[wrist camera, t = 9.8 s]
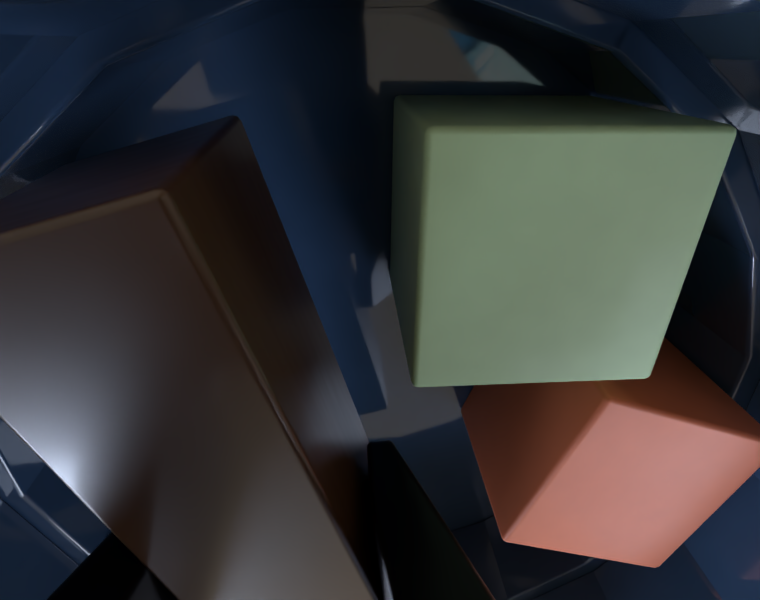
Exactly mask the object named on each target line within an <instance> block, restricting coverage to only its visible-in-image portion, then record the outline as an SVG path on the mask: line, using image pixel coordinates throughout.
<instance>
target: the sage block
mask: <svg viewBox="0 0 760 600" xmlns="http://www.w3.org/2000/svg"><path fill="white" fill-rule="evenodd" d="M735 137H736V128H735V127H733V126H732V125H730V124H726V123H721V122H716V121H711V120H706V119H701V118H696V117H692V116H687V115H682V114H677V113H672V112H667V111H663V110H658V109H653V108H648V107H643V106H638V105H633V104H629V103H624V102H619V101H614V100H609V99H604V98H600V97H595V96H546V95H399V96H396V97H395V100H394V117H393V164H392V210H391V257H390V280H391V285H392V290H393V295H394V300H395V305H396V310H397V315H398V320H399V324H400V329H401V334H402V339H403V344H404V349H405V354H406V359H407V364H408V369H409V374H410V379H411V382H412V384H413V385H414V386H415V387H438V386H465V385H491V384H517V383H544V382H570V381H596V380H622V379H645V378H648V377H649V376H650V375H651V372H652V370H653V367H654V364H655V361H656V358H657V356H658V353H659V350H660V347H661V344H662V342H663V339H664V336H665V333H666V330H667V328H668V325H669V322H670V319H671V316H672V314H673V311H674V308H675V305H676V302H677V300H678V297H679V294H680V291H681V288H682V286H683V283H684V280H685V277H686V274H687V272H688V269H689V266H690V263H691V260H692V258H693V255H694V252H695V249H696V246H697V243H698V241H699V238H700V235H701V232H702V229H703V227H704V224H705V221H706V218H707V215H708V213H709V210H710V207H711V204H712V201H713V199H714V196H715V193H716V190H717V187H718V185H719V182H720V179H721V176H722V173H723V171H724V168H725V165H726V162H727V159H728V157H729V154H730V151H731V148H732V145H733V143H734V140H735Z"/></svg>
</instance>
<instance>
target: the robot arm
mask: <svg viewBox="0 0 760 600" xmlns="http://www.w3.org/2000/svg"><path fill="white" fill-rule="evenodd" d="M367 460H368V481H369V499H370V509H371V518H372V527H373V535H374V544H375V552H376V561H377V568H378V574H379V581H380V587H381V592H382V598H383V600H495V598H494V597H493V595H492V594H491V592H490V591H489V589H488V587H487V586H486V584H485V583H484V581H483V580H482V578H481V577H480V575H479V574H478V572H477V571H476V569H475V568H474V566H473V564H472V563H471V561H470V560H469V558H468V557H467V555H466V554H465V552H464V551H463V549H462V548H461V546H460V545H459V543H458V541H457V540H456V538H455V537H454V535H453V534H452V532H451V531H450V529H449V528H448V526H447V525H446V523H445V522H444V520H443V518H442V517H441V515H440V514H439V512H438V511H437V509H436V508H435V506H434V505H433V503H432V502H431V500H430V499H429V497H428V495H427V494H426V492H425V491H424V489H423V488H422V486H421V485H420V483H419V482H418V480H417V479H416V477H415V476H414V474H413V473H412V471H411V469H410V468H409V466H408V465H407V463H406V462H405V460H404V459H403V457H402V456H401V454H400V453H399V451H398V450H397V448H396V446H395V445H394V444H393V442H392V441H390V440H385V441H375V442H369V443H368V445H367ZM46 600H178V599H177V598H176V597H175V596H174V595H173V594H172V593H171V592H170V591H169V590H168V589H167V588H166V587H165V586H164V585H163V584H162V583H161V582H160V581H159V580H158V579H157V578H156V577H155V576H154V575H153V574H152V573H151V572H150V571H149V569H148V568H147V567H145V566H144V565H143V564H142V563H141V561H140V560H139V559H138V558H137V557H136V556H135V555H134V554H133V553H132V552H131V551H130V550H129V549H128V548H127V547H126V546H125V545H124V544H123V543H122V542H121V541H120V540H119V539H118V538H117V537H116V536H115V535H114V534H113V533H112V532H111V533H110V534H109V535H108V536H107V537H106V538H105V539H104V540H103V541H102V542H101V543H100V544H99V545H98V546H97V547H96V548H95V549H94V550H93V552H92V553H91V554H90V555H89V556H88V557H87V558H86V559H85V560H84V561H83V562H82V563H81V564H80V565H79V566H78V567H77V568H76V569H75V570H74V571H73V572H72V573H71V574H70V575H69V576H68V577H67V579H66V580H65V581H64V582H63V583H62V584H61V585H60V586H59V587H58V588H57V589H56V590H55V591H54V592H53V593H52V594H51V595H50V596H49V597H48V598H47V599H46Z"/></svg>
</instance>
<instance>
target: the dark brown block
mask: <svg viewBox="0 0 760 600" xmlns="http://www.w3.org/2000/svg"><path fill="white" fill-rule="evenodd" d="M0 418H1V419H2V420H3V421H4V422H5V423H6V424H7V425H8V426H9V427H10V428H11V429H12V430H13V431H14V432H15V433H16V434H17V435H18V436H19V437H20V438H21V440H22V441H23V442H24V443H25V444H26V445H27V446H28V447H29V448H30V449H31V450H32V451H33V452H34V453H35V454H36V455H37V456H38V457H39V458H40V459H41V460H42V461H43V462H44V463H45V464H46V465H47V466H48V467H49V468H50V469H51V470H52V471H53V472H54V473H55V474H56V475H57V476H58V477H59V478H60V479H61V481H62V482H63V483H64V484H65V485H66V486H67V487H68V488H69V489H70V490H71V491H72V492H73V493H74V494H75V495H76V496H77V497H78V498H79V499H80V500H81V501H82V502H83V503H84V504H85V505H86V506H87V507H88V508H89V509H90V510H91V511H92V512H93V513H94V514H95V515H96V516H97V517H98V518H99V519H100V520H101V522H102V523H103V524H104V525H105V526H106V527H107V528H108V529H109V530H110V531H111V532H112V533H113V534H114V535H115V536H116V537H117V538H118V539H119V540H120V541H121V542H122V543H123V544H124V545H125V546H126V547H127V548H128V549H129V550H130V551H131V552H132V553H133V554H134V555H135V556H136V557H137V558H138V559H139V560H140V561H141V563H142V564H143V565H144V566H145V567H147V568H148V569H149V571H150V572H151V573H152V574H153V575H154V576H155V577H156V578H157V579H158V580H159V581H160V582H161V583H162V584H163V585H164V586H165V587H166V588H167V589H168V590H169V591H170V592H171V593H172V594H173V595H174V596H175V597H176V598H177V599H178V600H383V598H382V592H381V587H380V581H379V574H378V568H377V561H376V552H375V544H374V535H373V527H372V518H371V509H370V499H369V481H368V460H367V445H368V443H369V441H368V438H367V436H366V433H365V431H364V428H363V426H362V423H361V421H360V418H359V416H358V413H357V410H356V408H355V405H354V403H353V400H352V398H351V395H350V393H349V390H348V388H347V385H346V383H345V380H344V378H343V375H342V373H341V370H340V368H339V365H338V363H337V360H336V358H335V355H334V353H333V350H332V348H331V345H330V343H329V340H328V338H327V335H326V333H325V330H324V328H323V325H322V323H321V320H320V317H319V315H318V312H317V310H316V307H315V305H314V302H313V300H312V297H311V295H310V292H309V290H308V287H307V285H306V282H305V280H304V277H303V275H302V272H301V270H300V267H299V265H298V262H297V260H296V257H295V255H294V252H293V250H292V247H291V245H290V242H289V240H288V237H287V235H286V232H285V230H284V227H283V224H282V222H281V219H280V217H279V214H278V212H277V209H276V207H275V204H274V202H273V199H272V197H271V194H270V192H269V189H268V187H267V184H266V182H265V179H264V177H263V174H262V172H261V169H260V167H259V164H258V162H257V159H256V157H255V154H254V152H253V149H252V147H251V144H250V142H249V139H248V136H247V134H246V131H245V129H244V126H243V124H242V121H241V120H240V119H239V118H238V116H233V115H231V116H227V117H224V118H221V119H217V120H214V121H211V122H207V123H204V124H201V125H197V126H194V127H190V128H187V129H184V130H180V131H177V132H174V133H170V134H167V135H163V136H160V137H157V138H153V139H150V140H147V141H143V142H140V143H137V144H133V145H130V146H126V147H123V148H120V149H116V150H113V151H110V152H106V153H103V154H100V155H96V156H93V157H89V158H86V159H83V160H79V161H76V162H73V163H69V164H66V165H63V166H61V167H60V168H58V169H56V170H54V171H52V172H50V173H48V174H47V175H45V176H43V177H41V178H39V179H37V180H36V181H34V182H32V183H30V184H28V185H26V186H24V187H23V188H21V189H19V190H17V191H15V192H13V193H12V194H10V195H8V196H6V197H4V198H2V199H1V200H0Z"/></svg>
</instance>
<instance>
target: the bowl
mask: <svg viewBox="0 0 760 600" xmlns="http://www.w3.org/2000/svg"><path fill="white" fill-rule="evenodd" d="M399 95H546V96H595V97H600V98H604V99H609V100H614V101H619V102H624V103H629V104H633V105H638V106H643V107H648V108H653V109H658V110H663V111H667V112H672V113H677V114H682V115H687V116H692V117H696V118H701V119H706V120H711V121H716V122H721V123H726V124H730V125H732V126H733V127H735V128H736V137H735V140H734V143H733V145H732V148H731V151H730V154H729V157H728V159H727V162H726V165H725V168H724V171H723V173H722V176H721V179H720V182H719V185H718V187H717V190H716V193H715V196H714V199H713V201H712V204H711V207H710V210H709V213H708V215H707V218H706V221H705V224H704V227H703V229H702V232H701V235H700V238H699V241H698V243H697V246H696V249H695V252H694V255H693V258H692V260H691V263H690V266H689V269H688V272H687V274H686V277H685V280H684V283H683V286H682V288H681V291H680V294H679V297H678V300H677V302H676V305H675V308H674V311H673V314H672V316H671V319H670V322H669V325H668V328H667V330H666V333H665V336H664V337H665V338H666V339H667V340H668V341H669V342H670V343H672V344H673V345H674V346H675V347H676V348H677V349H678V350H679V351H680V352H681V353H683V354H684V355H685V356H686V357H687V358H688V359H689V360H690V361H691V362H692V363H694V364H695V365H696V366H697V367H698V368H699V369H700V370H701V371H702V372H703V373H705V374H706V375H707V376H708V377H709V378H710V379H711V380H712V381H713V382H714V383H715V384H717V385H718V386H719V387H720V388H721V389H722V390H723V391H724V392H725V393H726V394H728V395H729V396H730V397H731V398H732V399H733V400H734V401H735V402H736V403H737V404H739V405H740V406H741V407H742V408H743V409H744V410H745V411H746V412H747V413H748V414H750V415H751V416H752V417H753V418H754V419H755V420H756V421H757V422H758V423H759V424H760V0H0V200H1V199H2V198H4V197H6V196H8V195H10V194H12V193H13V192H15V191H17V190H19V189H21V188H23V187H24V186H26V185H28V184H30V183H32V182H34V181H36V180H37V179H39V178H41V177H43V176H45V175H47V174H48V173H50V172H52V171H54V170H56V169H58V168H60V167H61V166H63V165H66V164H69V163H73V162H76V161H79V160H83V159H86V158H89V157H93V156H96V155H100V154H103V153H106V152H110V151H113V150H116V149H120V148H123V147H126V146H130V145H133V144H137V143H140V142H143V141H147V140H150V139H153V138H157V137H160V136H163V135H167V134H170V133H174V132H177V131H180V130H184V129H187V128H190V127H194V126H197V125H201V124H204V123H207V122H211V121H214V120H217V119H221V118H224V117H227V116H231V115H233V116H238V118H239V119H240V120H241V121H242V124H243V126H244V129H245V131H246V134H247V136H248V139H249V142H250V144H251V147H252V149H253V152H254V154H255V157H256V159H257V162H258V164H259V167H260V169H261V172H262V174H263V177H264V179H265V182H266V184H267V187H268V189H269V192H270V194H271V197H272V199H273V202H274V204H275V207H276V209H277V212H278V214H279V217H280V219H281V222H282V224H283V227H284V230H285V232H286V235H287V237H288V240H289V242H290V245H291V247H292V250H293V252H294V255H295V257H296V260H297V262H298V265H299V267H300V270H301V272H302V275H303V277H304V280H305V282H306V285H307V287H308V290H309V292H310V295H311V297H312V300H313V302H314V305H315V307H316V310H317V312H318V315H319V317H320V320H321V323H322V325H323V328H324V330H325V333H326V335H327V338H328V340H329V343H330V345H331V348H332V350H333V353H334V355H335V358H336V360H337V363H338V365H339V368H340V370H341V373H342V375H343V378H344V380H345V383H346V385H347V388H348V390H349V393H350V395H351V398H352V400H353V403H354V405H355V408H356V410H357V413H358V416H359V418H360V421H361V423H362V426H363V428H364V431H365V433H366V436H367V438H368V441H369V442H375V441H385V440H390V441H392V442H393V444H394V445H395V446H396V448H397V450H398V451H399V453H400V454H401V456H402V457H403V459H404V460H405V462H406V463H407V465H408V466H409V468H410V469H411V471H412V473H413V474H414V476H415V477H416V479H417V480H418V482H419V483H420V485H421V486H422V488H423V489H424V491H425V492H426V494H427V495H428V497H429V499H430V500H431V502H432V503H433V505H434V506H435V508H436V509H437V511H438V512H439V514H440V515H441V517H442V518H443V520H444V522H445V523H446V525H447V526H448V528H449V529H450V531H451V532H452V534H453V535H454V537H455V538H456V540H457V541H458V543H459V545H460V546H461V548H462V549H463V551H464V552H465V554H466V555H467V557H468V558H469V560H470V561H471V563H472V564H473V566H474V568H475V569H476V571H477V572H478V574H479V575H480V577H481V578H482V580H483V581H484V583H485V584H486V586H487V587H488V589H489V591H490V592H491V594H492V595H493V597H494V598H495V600H760V468H758V469H757V470H756V471H755V472H754V473H753V474H752V475H751V476H750V477H749V478H748V479H747V480H746V481H745V482H744V483H743V484H742V485H741V486H740V487H739V488H738V489H737V490H736V491H735V492H734V493H733V494H732V495H731V496H730V497H729V498H728V499H727V500H726V501H725V502H724V503H723V504H722V505H721V506H720V507H719V508H718V509H717V510H716V511H715V512H714V513H713V514H712V515H711V516H710V517H709V518H708V519H707V520H706V521H705V522H704V523H703V524H702V525H701V526H700V527H699V528H698V529H697V530H696V531H695V532H694V533H693V534H692V535H691V536H690V537H689V538H688V539H687V540H686V541H685V542H684V543H683V544H682V545H681V546H680V547H679V548H678V549H676V550H675V551H674V552H673V553H672V554H671V555H670V556H669V557H668V558H667V559H666V560H665V561H664V562H663V563H662V564H661V565H660V566H659V567H656V568H653V567H647V566H641V565H635V564H630V563H624V562H618V561H613V560H607V559H601V558H595V557H590V556H584V555H578V554H572V553H567V552H561V551H555V550H549V549H544V548H538V547H532V546H526V545H521V544H515V543H509V542H505V541H504V540H503V539H502V537H501V534H500V531H499V528H498V525H497V522H496V519H495V516H494V512H493V509H492V506H491V503H490V500H489V497H488V494H487V491H486V488H485V484H484V481H483V478H482V475H481V472H480V469H479V466H478V463H477V460H476V457H475V453H474V450H473V447H472V444H471V441H470V438H469V435H468V432H467V429H466V425H465V422H464V419H463V416H462V413H461V409H462V406H463V405H464V403H465V401H466V399H467V398H468V396H469V394H470V392H471V391H472V389H473V387H474V385H465V386H438V387H415V386H414V385H413V384H412V382H411V379H410V374H409V369H408V364H407V359H406V354H405V349H404V344H403V339H402V334H401V329H400V324H399V320H398V315H397V310H396V305H395V300H394V295H393V290H392V285H391V280H390V257H391V210H392V164H393V117H394V100H395V97H396V96H399ZM110 533H111V531H110V530H109V529H108V528H107V527H106V526H105V525H104V524H103V523H102V522H101V520H100V519H99V518H98V517H97V516H96V515H95V514H94V513H93V512H92V511H91V510H90V509H89V508H88V507H87V506H86V505H85V504H84V503H83V502H82V501H81V500H80V499H79V498H78V497H77V496H76V495H75V494H74V493H73V492H72V491H71V490H70V489H69V488H68V487H67V486H66V485H65V484H64V483H63V482H62V481H61V479H60V478H59V477H58V476H57V475H56V474H55V473H54V472H53V471H52V470H51V469H50V468H49V467H48V466H47V465H46V464H45V463H44V462H43V461H42V460H41V459H40V458H39V457H38V456H37V455H36V454H35V453H34V452H33V451H32V450H31V449H30V448H29V447H28V446H27V445H26V444H25V443H24V442H23V441H22V440H21V438H20V437H19V436H18V435H17V434H16V433H15V432H14V431H13V430H12V429H11V428H10V427H9V426H8V425H7V424H6V423H5V422H4V421H3V420H2V419H1V418H0V600H46V599H47V598H48V597H49V596H50V595H51V594H52V593H53V592H54V591H55V590H56V589H57V588H58V587H59V586H60V585H61V584H62V583H63V582H64V581H65V580H66V579H67V577H68V576H69V575H70V574H71V573H72V572H73V571H74V570H75V569H76V568H77V567H78V566H79V565H80V564H81V563H82V562H83V561H84V560H85V559H86V558H87V557H88V556H89V555H90V554H91V553H92V552H93V550H94V549H95V548H96V547H97V546H98V545H99V544H100V543H101V542H102V541H103V540H104V539H105V538H106V537H107V536H108V535H109V534H110Z"/></svg>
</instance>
